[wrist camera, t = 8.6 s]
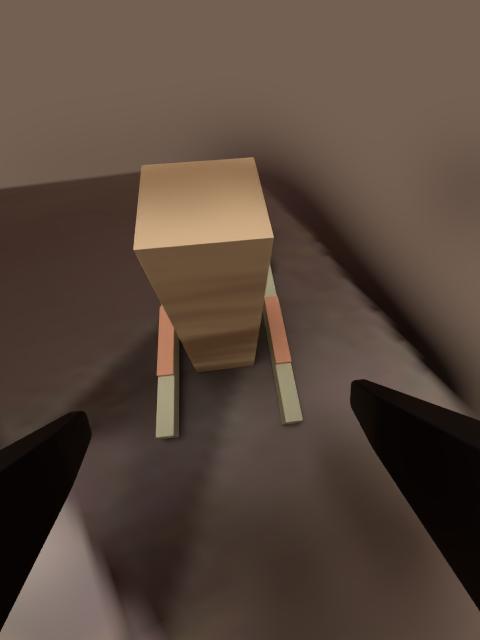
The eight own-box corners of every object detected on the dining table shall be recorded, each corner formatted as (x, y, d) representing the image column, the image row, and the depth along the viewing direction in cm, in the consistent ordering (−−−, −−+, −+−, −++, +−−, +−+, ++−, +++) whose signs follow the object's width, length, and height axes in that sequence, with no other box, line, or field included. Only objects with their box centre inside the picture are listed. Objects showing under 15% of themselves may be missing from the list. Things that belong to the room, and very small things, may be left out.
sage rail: (297, 423, 16) (309, 416, 14) (162, 438, 16) (147, 435, 13) (265, 262, 22) (268, 236, 20) (167, 271, 22) (157, 245, 19)
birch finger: (253, 365, 18) (273, 237, 7) (197, 372, 18) (133, 250, 7) (245, 313, 20) (252, 153, 9) (194, 319, 20) (142, 161, 9)
